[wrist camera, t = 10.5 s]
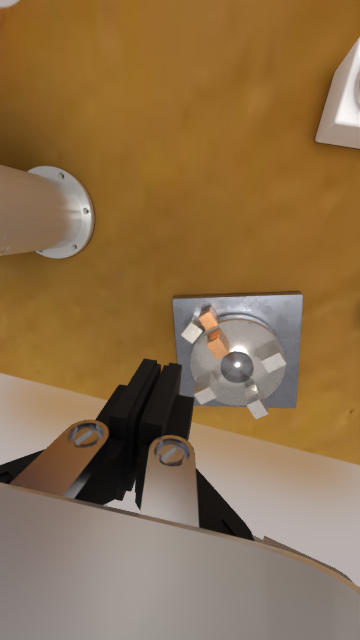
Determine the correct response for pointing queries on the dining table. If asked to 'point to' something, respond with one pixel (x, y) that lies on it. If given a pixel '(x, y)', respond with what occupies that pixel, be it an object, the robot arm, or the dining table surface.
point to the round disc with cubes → (236, 361)
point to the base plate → (267, 307)
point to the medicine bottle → (343, 104)
